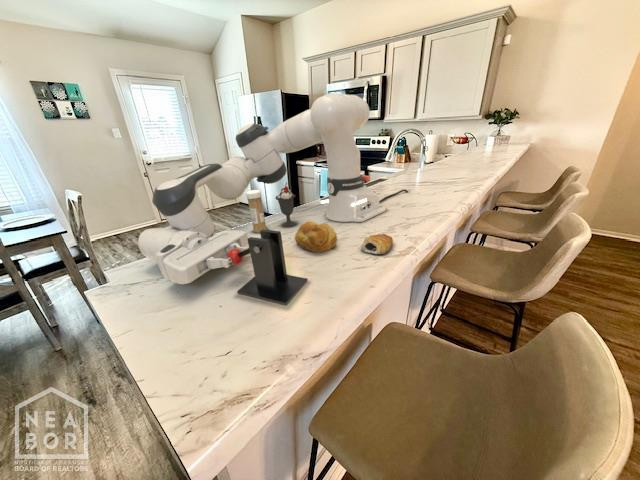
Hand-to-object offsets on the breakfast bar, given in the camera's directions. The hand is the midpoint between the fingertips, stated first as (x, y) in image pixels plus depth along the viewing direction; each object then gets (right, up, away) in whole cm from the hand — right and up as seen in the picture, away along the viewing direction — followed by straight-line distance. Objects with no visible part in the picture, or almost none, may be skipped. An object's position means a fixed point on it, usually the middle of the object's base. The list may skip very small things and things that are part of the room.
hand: (237, 257), depth 57 cm
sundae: (+7, +9, +35) cm, 36 cm away
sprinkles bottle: (-2, +7, +31) cm, 32 cm away
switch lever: (+4, 0, -2) cm, 4 cm away
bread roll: (+17, +2, +17) cm, 24 cm away
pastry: (+33, +1, +13) cm, 36 cm away
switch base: (+8, -7, -1) cm, 10 cm away
